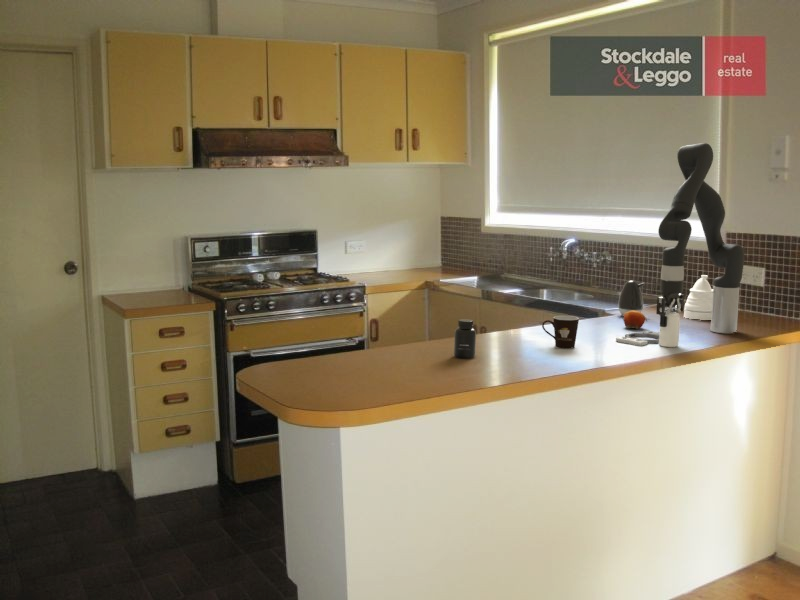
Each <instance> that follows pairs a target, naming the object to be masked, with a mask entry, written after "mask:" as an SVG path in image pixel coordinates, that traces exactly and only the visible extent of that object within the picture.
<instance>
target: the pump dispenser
mask: <svg viewBox="0 0 800 600" xmlns="http://www.w3.org/2000/svg"><path fill="white" fill-rule="evenodd" d="M645 285H646V283H645V282H640V283H638V282H637V280H633V279H629V280H627V281H626V282H625V283H624V285H623V287H622V289H621V291H620V294H619V297H618V304H617V308H618V311H619V313H620V315H621V316H623V317H624V315H625V313H626V312H629V311H639V312H641V313H643V309H644V297H643V293H642V289H641V287H643V286H645Z"/></svg>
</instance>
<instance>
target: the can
mask: <svg viewBox="0 0 800 600" xmlns="http://www.w3.org/2000/svg"><path fill="white" fill-rule="evenodd" d="M665 311H666V310H665ZM680 315H681V314H679V312H678V311H672V309H671V310H670V311H669V312H668V314H667V326H666V327H661V326H660V325H659V331H658V332H659V343H658V345H659V346H660V347H663V348H670V347H673V348H678V347H679V343H680V328H681V327H680V326H681V325H680V323H681V316H680Z"/></svg>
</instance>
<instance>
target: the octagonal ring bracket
mask: <svg viewBox="0 0 800 600" xmlns="http://www.w3.org/2000/svg"><path fill="white" fill-rule="evenodd" d="M659 332H660V331H652V330H646V331H643V332H631V333H628V334H625V335H624V336H620V337H616V338H615V342H616V341H618V342H617V343H622V342H624V344H627V343H629V344H628V345H633V344H635V346H638V347H639V346H640V347H642V346H646V345H648V344H659ZM637 337H638V338H637ZM639 337H641V338H639ZM645 337H646V339H644V338H645ZM647 338H653V339H647Z"/></svg>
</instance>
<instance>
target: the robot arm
mask: <svg viewBox="0 0 800 600" xmlns="http://www.w3.org/2000/svg"><path fill="white" fill-rule="evenodd" d="M677 162H678V163H677V164H678V165H679V169H680V171H681V174H682V176H683V178H684V180H685V181H684V182H683V183H682V184H681V185H680V186H679V188H678V189H677V190H676V192H675V194H674V196H673V199H672V202H671V206H670V208H669V210H668V211H667V213H666V214H665V216H664V217H663V219H662V220H661V222H660V224H659V226H658V236H659V237H660V239H661V240H662V241H669V242H670V241H673V242H677V244H676V245H675V246H671V247H666V248H664V249H663V251H662V263H661V264H662V265H661V271H660V285H659V291H660V292H661V293H663V295H662V296H658V297H657V298H656V313H655V314H656V315H659V327H660V326H661V327H666V326H667V314H668V312H669V311H670V310H671V311H678V312H679V315H681V312H684V309H685V308H684V307H685V294H682V293H683V292H684V280H685V268H684V267H685V266H684V265H685V253H686V249H687V245H688V243H689V240H690V238H691V235H692V225H691V223H690V222H689V221H688V220H687V219H689V218H690V217H691V215H692V212H693V209H694V206H695V210H696V213H697V216H698V219H699V221H700V224H701V227H702V231H703V234H704V237H705V241H706V245H707V251H708V254H709V258H710V259H709V260H710V261H711V264H712V265H713V266H714V267H716V268H721V269H725V271H724V274H723V275H721V276H717V277H715V278H714V279H713V283H712V284H713V286H712V287H713V288H712V289H713V299H712V314H711V321H710V328H709V329H710V331H711V332H714V333H717V334H734V333H733V332H736V333H737V331H736V330H737V329H738V315H739V299H740V286H741V285H740V284H741V282H742V278H743V272H744V264H745V250H744V248H743V246H742V245H740V244H735V243H734V244H733V243H726V242H724V240H723V238H722V232H721V229H722V226H723V224H724V220H725V219H726V218H725V217H726V210H725V206H724V203H723V200H722V197H721V196H720V194H719V193H718V192H717V191H716V190H715V189H714V188H713V186H711V185H709V184H708V183H707V182H706V181H705V179H706V176H707V175H708V173H709V171H710V169H711V167H712V164H713V162H714V151H713V148H712V146H711V145H710V144H709V143H707V142H702V143H700V142H699V143H696V144H695V143H694V144H687V145H683V146H681V147H680V148H678V151H677ZM665 310H666V311H665Z"/></svg>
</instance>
